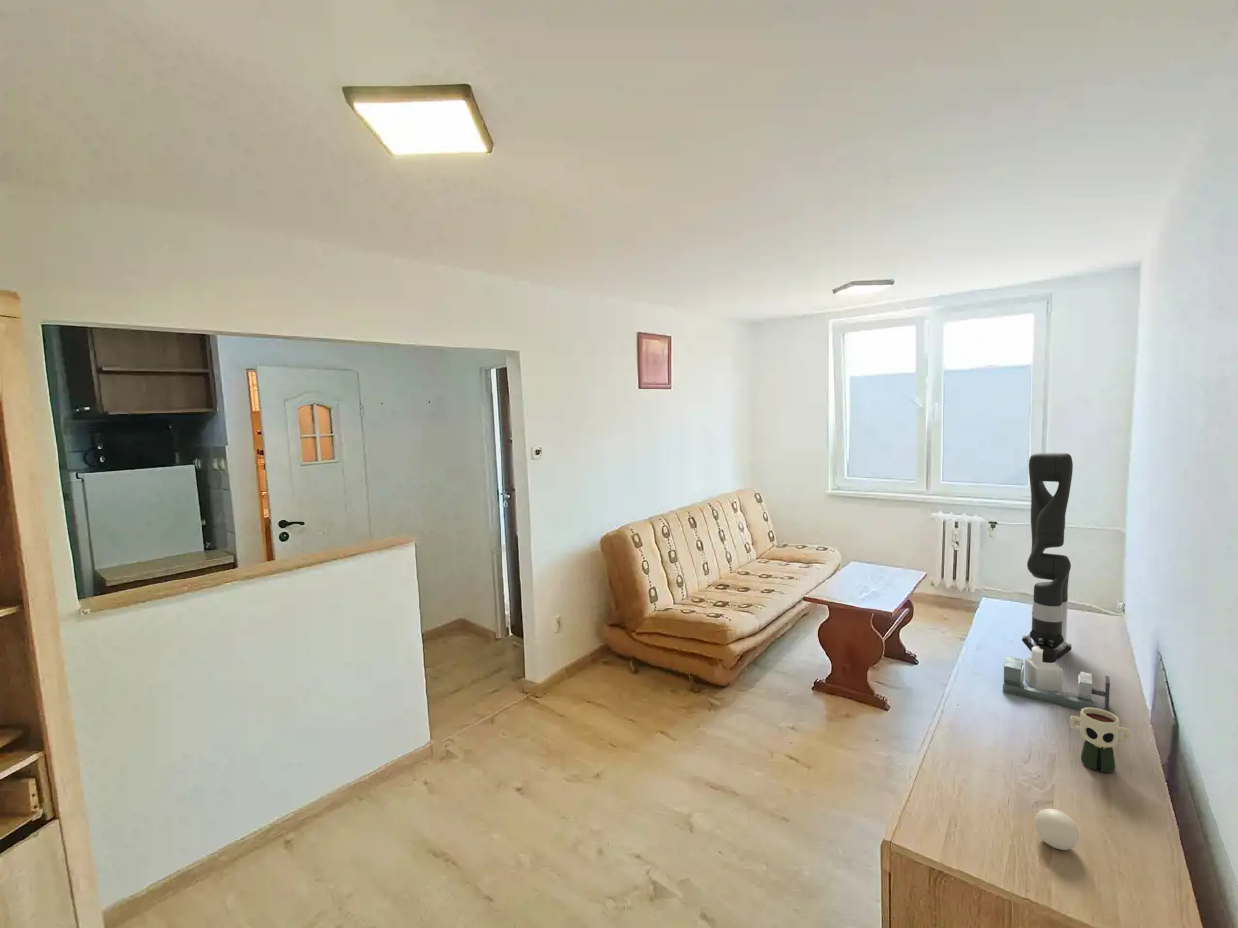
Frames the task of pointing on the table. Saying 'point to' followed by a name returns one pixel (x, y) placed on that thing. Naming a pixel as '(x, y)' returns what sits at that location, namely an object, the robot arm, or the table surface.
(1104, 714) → the character mug
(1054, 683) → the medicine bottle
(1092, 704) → the vise bed
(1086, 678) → the sliding jaw
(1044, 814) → the white egg
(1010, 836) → the table surface
